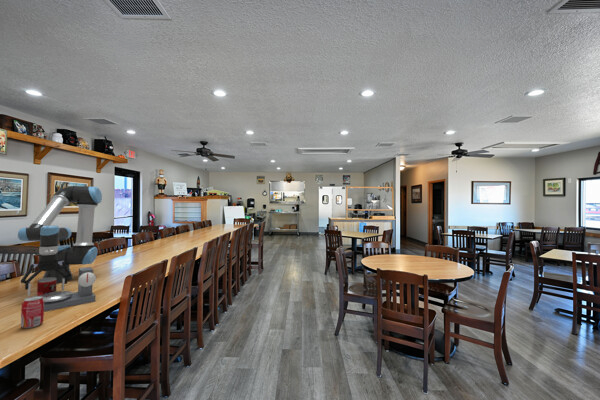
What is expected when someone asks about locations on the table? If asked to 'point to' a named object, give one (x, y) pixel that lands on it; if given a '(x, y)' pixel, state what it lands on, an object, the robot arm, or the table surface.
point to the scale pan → (56, 296)
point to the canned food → (46, 285)
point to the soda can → (32, 312)
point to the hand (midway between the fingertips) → (46, 292)
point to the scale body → (78, 297)
